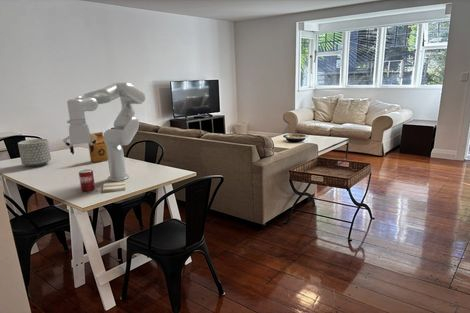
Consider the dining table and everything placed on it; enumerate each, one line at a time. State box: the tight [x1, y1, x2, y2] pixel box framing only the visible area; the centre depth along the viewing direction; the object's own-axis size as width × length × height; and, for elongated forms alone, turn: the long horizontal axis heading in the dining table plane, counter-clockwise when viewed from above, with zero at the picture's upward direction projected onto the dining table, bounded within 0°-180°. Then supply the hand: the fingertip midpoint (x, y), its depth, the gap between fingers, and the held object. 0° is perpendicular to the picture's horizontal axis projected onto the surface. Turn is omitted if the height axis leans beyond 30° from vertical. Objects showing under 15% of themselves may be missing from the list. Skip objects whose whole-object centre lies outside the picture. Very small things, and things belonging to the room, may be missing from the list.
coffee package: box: [87, 131, 108, 163], centre depth 250 cm, size 10×12×22 cm
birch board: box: [102, 180, 126, 194], centre depth 191 cm, size 12×12×2 cm
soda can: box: [78, 168, 96, 194], centre depth 186 cm, size 7×7×12 cm
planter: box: [17, 138, 52, 168], centre depth 243 cm, size 19×19×18 cm
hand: (82, 153), depth 181 cm, fingers open, 9 cm apart
